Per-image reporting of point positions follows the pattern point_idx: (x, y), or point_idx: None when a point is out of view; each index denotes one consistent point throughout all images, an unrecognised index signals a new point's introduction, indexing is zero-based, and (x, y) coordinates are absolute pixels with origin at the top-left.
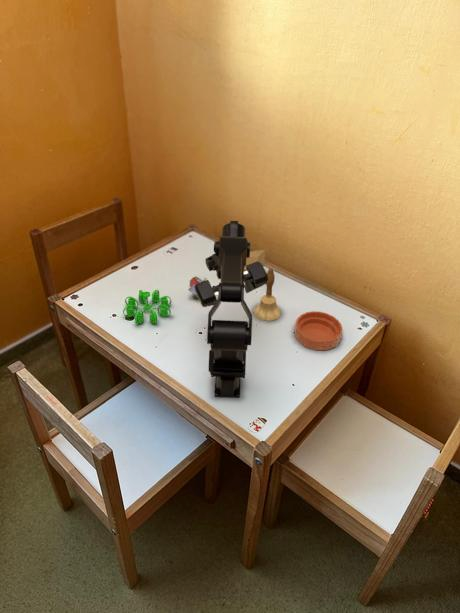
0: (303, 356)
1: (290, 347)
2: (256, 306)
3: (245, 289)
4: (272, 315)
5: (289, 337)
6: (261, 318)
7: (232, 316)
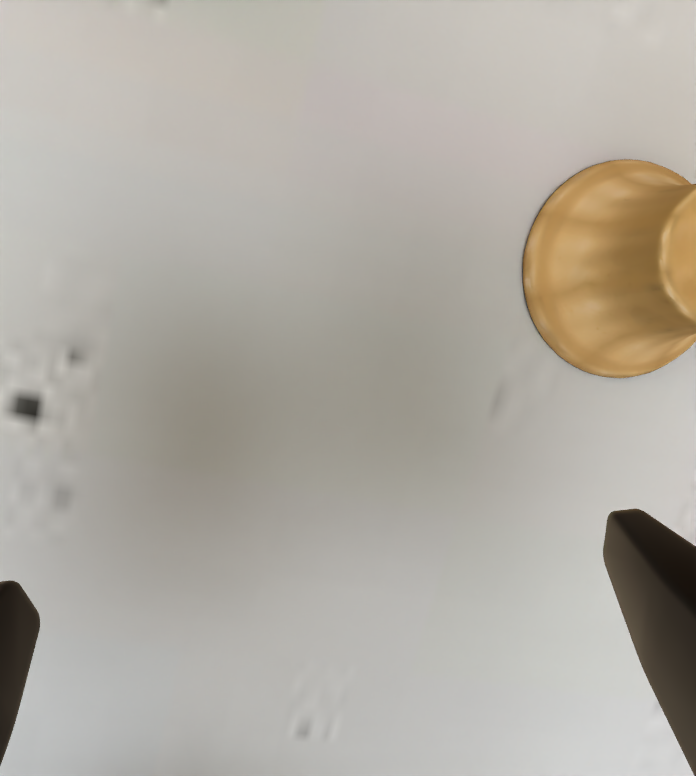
0: None
1: None
2: (569, 195)
3: (639, 577)
4: (652, 355)
5: None
6: (558, 346)
7: (343, 254)
